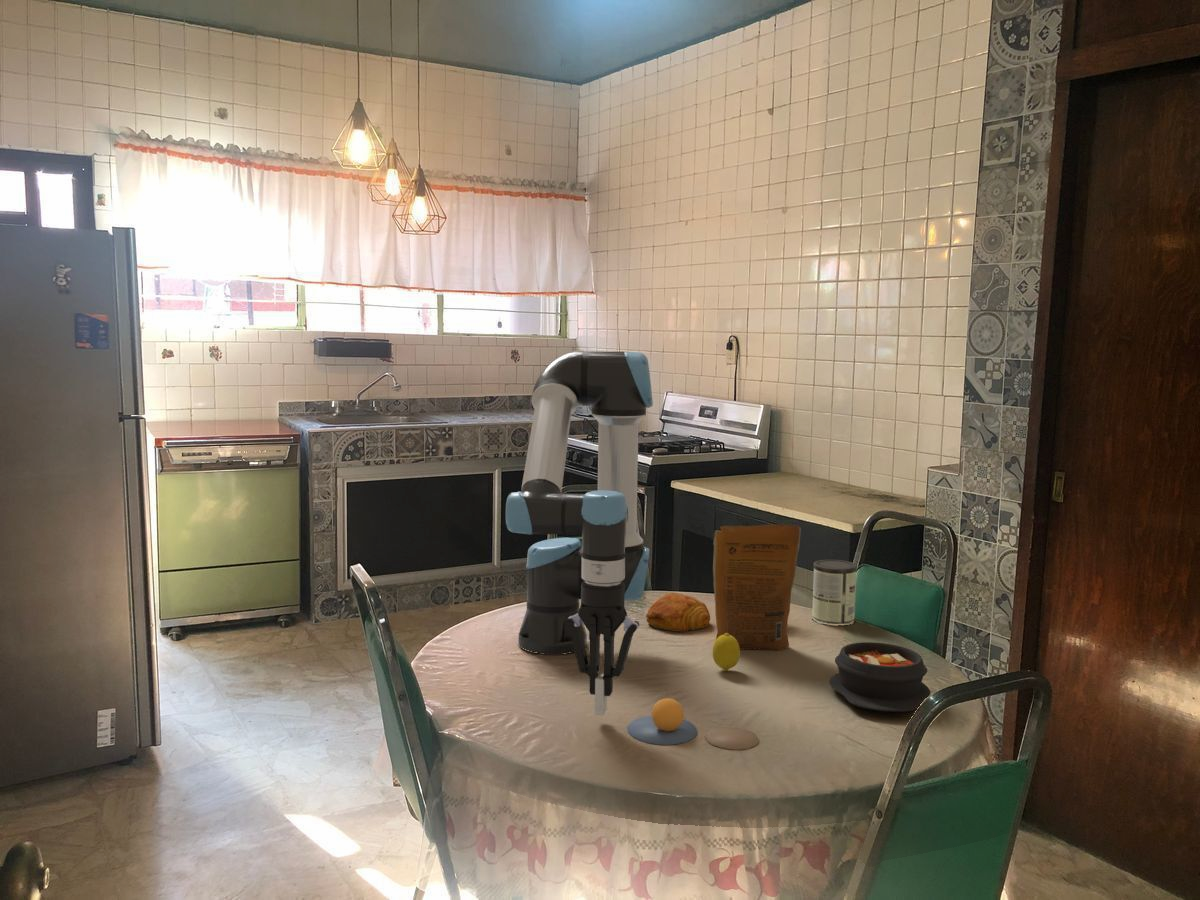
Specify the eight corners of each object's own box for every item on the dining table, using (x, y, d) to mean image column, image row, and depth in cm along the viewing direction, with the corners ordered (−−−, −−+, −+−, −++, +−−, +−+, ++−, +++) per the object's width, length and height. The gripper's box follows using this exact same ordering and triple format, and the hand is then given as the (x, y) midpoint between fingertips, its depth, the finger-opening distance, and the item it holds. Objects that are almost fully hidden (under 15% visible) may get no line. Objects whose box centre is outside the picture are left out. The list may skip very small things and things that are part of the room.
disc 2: (701, 746, 155) (701, 744, 155) (709, 725, 163) (709, 723, 163) (756, 752, 152) (756, 751, 152) (760, 731, 161) (760, 730, 161)
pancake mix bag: (798, 653, 202) (803, 527, 199) (710, 651, 203) (714, 524, 200) (793, 644, 209) (798, 521, 206) (708, 641, 210) (712, 519, 207)
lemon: (738, 676, 188) (739, 638, 187) (710, 674, 189) (712, 636, 188) (739, 667, 193) (741, 630, 192) (713, 665, 194) (714, 628, 193)
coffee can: (813, 612, 234) (815, 557, 233) (855, 617, 231) (858, 561, 230) (808, 623, 225) (811, 566, 223) (852, 628, 221) (855, 570, 220)
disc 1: (620, 740, 156) (620, 738, 156) (635, 713, 168) (635, 712, 168) (691, 748, 153) (691, 747, 153) (701, 720, 165) (701, 719, 165)
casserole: (937, 726, 164) (940, 681, 163) (829, 715, 169) (831, 670, 168) (923, 678, 189) (925, 638, 188) (828, 669, 193) (830, 630, 192)
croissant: (673, 620, 234) (672, 588, 234) (721, 626, 222) (719, 592, 222) (632, 629, 224) (630, 596, 224) (679, 636, 212) (677, 601, 213)
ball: (678, 741, 158) (647, 731, 158) (678, 727, 163) (648, 718, 164) (687, 711, 157) (656, 701, 158) (687, 699, 163) (657, 689, 163)
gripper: (560, 583, 159) (558, 716, 161) (635, 589, 155) (632, 725, 158) (572, 573, 166) (571, 700, 168) (644, 578, 163) (641, 708, 165)
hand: (600, 712), depth 163 cm, fingers closed
